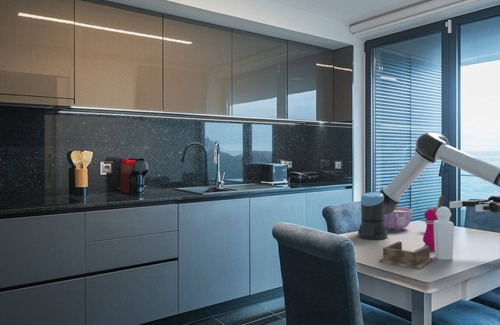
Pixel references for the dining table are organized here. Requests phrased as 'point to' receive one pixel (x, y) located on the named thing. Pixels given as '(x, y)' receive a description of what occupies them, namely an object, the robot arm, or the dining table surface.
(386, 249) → the walnut holder
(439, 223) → the white plastic bottle
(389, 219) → the bowl of food
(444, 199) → the mortar and pestle
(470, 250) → the dining table surface
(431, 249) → the pepper mill
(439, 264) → the dining table surface
